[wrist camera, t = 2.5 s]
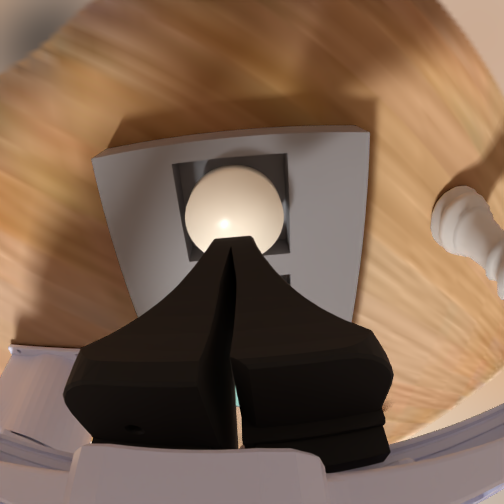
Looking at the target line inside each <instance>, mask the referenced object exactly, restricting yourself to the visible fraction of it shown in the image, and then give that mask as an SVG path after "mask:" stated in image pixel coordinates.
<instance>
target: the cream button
mask: <svg viewBox="0 0 504 504" xmlns="http://www.w3.org/2000/svg"><path fill="white" fill-rule="evenodd" d="M283 222H284V212H283V207H282V203H281V200H280V197H279V194H278V192H277V190H276V188H275V186H274V184H273V183H272V182H271V181H270V179H269V178H268V177H266V176H265V175H264V174H263V173H261V172H260V171H258V170H256V169H254V168H251V167H248V166H244V165H226V166H221V167H218V168H216V169H213V170H211V171H210V172H208V173H206V174H205V175H204V176H203V177H202V178H201V179H200V180H199V181H198V182H197V183H196V185H195V186H194V188H193V190H192V192H191V195H190V198H189V200H188V203H187V206H186V211H185V223H186V228H187V231H188V233H189V236H190V237H191V239H192V241H193V242H194V243H195V245H196V246H197V247H198V248H199V249H200V250H202V251H203V252H204V253H205V251H206V250H207V248H208V247H209V245H210V244H211V242H212V241H213V240H214V239H216V238H228V237H240V236H251V237H253V238H254V241H255V243H256V245H257V247H258V248H259V250H260V251H261V253H262V254H263V253H264V252H266V251H267V250H268V249H269V248H271V247H272V245H273V244H274V243H275V242H276V240H277V239H278V237H279V235H280V233H281V230H282V227H283Z"/></svg>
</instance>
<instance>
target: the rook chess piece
mask: <svg viewBox="0 0 504 504" xmlns="http://www.w3.org/2000/svg"><path fill="white" fill-rule="evenodd" d="M431 232H432V235H433V239H434V240H435V241H436V242H437V243H438V244H439V245H440V246H442V247H443V248H444V249H445V250H446V251H447V252H449V253H452V254H456V255H461V256H465V257H470V258H471V259H472V260H474V261H475V262H476V263H478V264H479V265H481V266H482V267H483V268H484V269H485V270H486V276H487V277H488V279H489V280H493V281H497V287H498V296H499V297H500V298H501V300H504V231H503V229H502V228H501V227H500V226H499V225H498V224H497V223H496V222H495V220H494V219H493V214H492V213H491V211H490V207H489V205H488V204H487V202H486V201H485V199H484V198H483V196H482V195H480V194H478V193H477V192H476V191H475V189H473V188H471V187H468V186H457V187H454V188H452V189H451V190H449V191H447V192H446V193H444V194H443V195H442V196H441V197H440V199H439V200H438V201H437V202H436V205H435V207H434V209H433V212H432V219H431Z"/></svg>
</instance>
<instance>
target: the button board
mask: <svg viewBox="0 0 504 504" xmlns="http://www.w3.org/2000/svg"><path fill="white" fill-rule="evenodd" d="M369 145H370V132H368V131H366V130H364V129H362V128H360V127H358V126H356V125H318V126H287V127H269V128H254V129H241V130H230V131H220V132H211V133H202V134H194V135H186V136H179V137H172V138H165V139H158V140H152V141H146V142H140V143H135V144H129V145H124V146H119V147H114V148H109V149H105V150H104V151H102V152H101V153H99V154H98V155H96V156H95V157H93V158H92V159H91V160H92V164H93V169H94V173H95V178H96V182H97V186H98V190H99V194H100V198H101V202H102V206H103V210H104V214H105V217H106V221H107V225H108V228H109V232H110V235H111V239H112V242H113V245H114V249H115V252H116V255H117V258H118V261H119V265H120V268H121V271H122V274H123V277H124V280H125V283H126V286H127V289H128V291H129V294H130V297H131V300H132V303H133V305H134V308H135V311H136V314H137V316H138V317H140V316H141V315H143V314H144V313H145V312H147V311H148V310H149V309H151V308H152V307H153V306H155V305H156V304H157V303H159V302H160V301H161V300H162V299H163V298H165V297H166V296H167V295H168V294H169V293H170V292H171V291H172V290H173V289H174V288H175V287H177V286H178V284H179V283H180V282H181V281H182V280H183V279H184V278H185V277H186V275H187V274H188V273H189V272H190V271H191V270H192V268H193V267H194V266H195V264H196V263H197V262H198V261H199V259H200V258H201V257H202V255H203V254H204V252H203V251H202V250H200V249H199V248H198V247H197V246H196V245H195V243H194V242H193V241H192V239H191V237H190V236H189V233H188V231H187V228H186V223H185V211H186V206H187V203H188V200H189V198H190V195H191V192H192V190H193V188H194V186H195V185H196V183H197V182H198V181H199V180H200V179H201V178H202V177H203V176H204V175H205V174H206V173H208V172H210V171H211V170H213V169H216V168H218V167H221V166H226V165H244V166H248V167H251V168H254V169H256V170H258V171H260V172H261V173H263V174H264V175H265V176H266V177H268V178H269V179H270V181H271V182H272V183H273V184H274V186H275V188H276V190H277V192H278V194H279V197H280V200H281V203H282V207H283V212H284V222H283V227H282V230H281V233H280V235H279V237H278V239H277V240H276V242H275V243H274V244H273V245H272V247H271V248H269V249H268V250H267V251H266V252H264V253H263V256H264V257H265V258H266V260H267V261H268V262H269V264H270V265H271V266H272V267H273V268H274V270H275V271H276V272H277V273H278V274H279V275H280V276H281V277H282V278H283V279H284V280H285V281H286V282H287V283H288V284H289V285H290V286H291V287H292V288H294V289H295V290H296V291H297V292H298V293H300V294H301V295H302V296H304V297H305V298H307V299H308V300H310V301H311V302H313V303H314V304H316V305H317V306H319V307H321V308H322V309H324V310H326V311H328V312H330V313H332V314H334V315H336V316H338V317H340V318H342V319H344V320H346V321H349V322H351V323H352V317H353V310H354V304H355V298H356V291H357V284H358V277H359V269H360V261H361V253H362V244H363V234H364V224H365V213H366V201H367V186H368V169H369ZM236 407H239V406H237V405H236Z"/></svg>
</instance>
